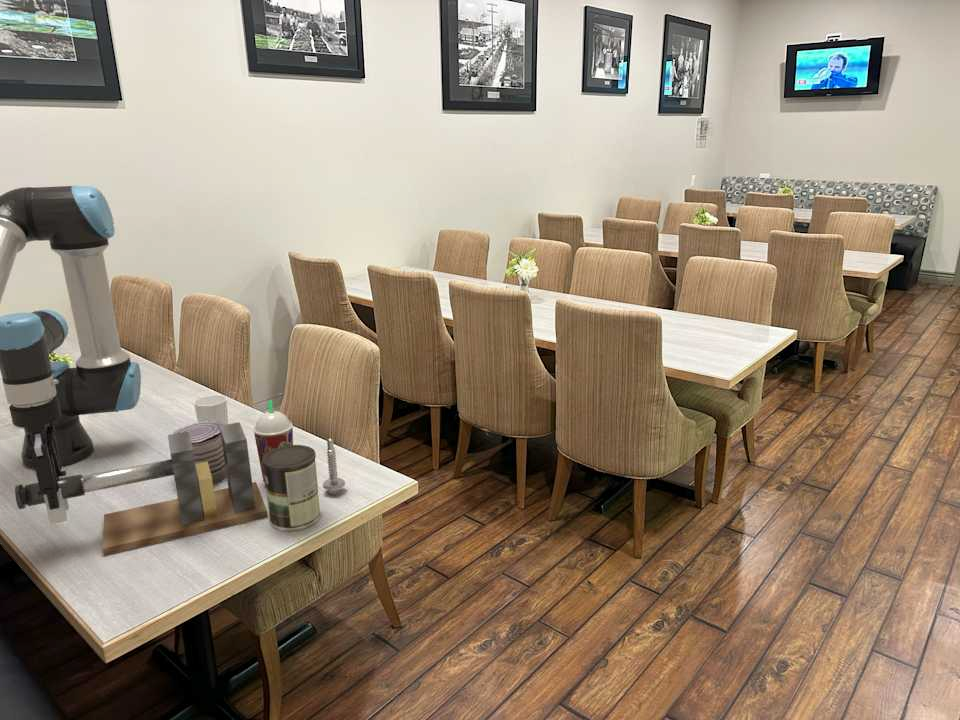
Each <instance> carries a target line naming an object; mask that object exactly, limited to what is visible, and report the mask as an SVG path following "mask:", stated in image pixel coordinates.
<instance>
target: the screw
mask: <svg viewBox="0 0 960 720" xmlns="http://www.w3.org/2000/svg"><path fill="white" fill-rule="evenodd" d="M326 445H327V450H326V451H327V452H326V456H327V457H326V458H327V466H328V467H327V468H328V470H327V471H328V479H326V480H325V481H324V482H323V483H322V488H323V489H325V490H327V492H328V493H329V495H331V496H333V495H335V496H336V495H339V494H340V493H341V492H342V488H344V487H345V485H346V481H345V480H344V479H343V478H341V477H338V467H337V455H336V454H337V453H336V450H335V449H336V447H334V439H332V438H331V437H328V438H327V439H326Z"/></svg>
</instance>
